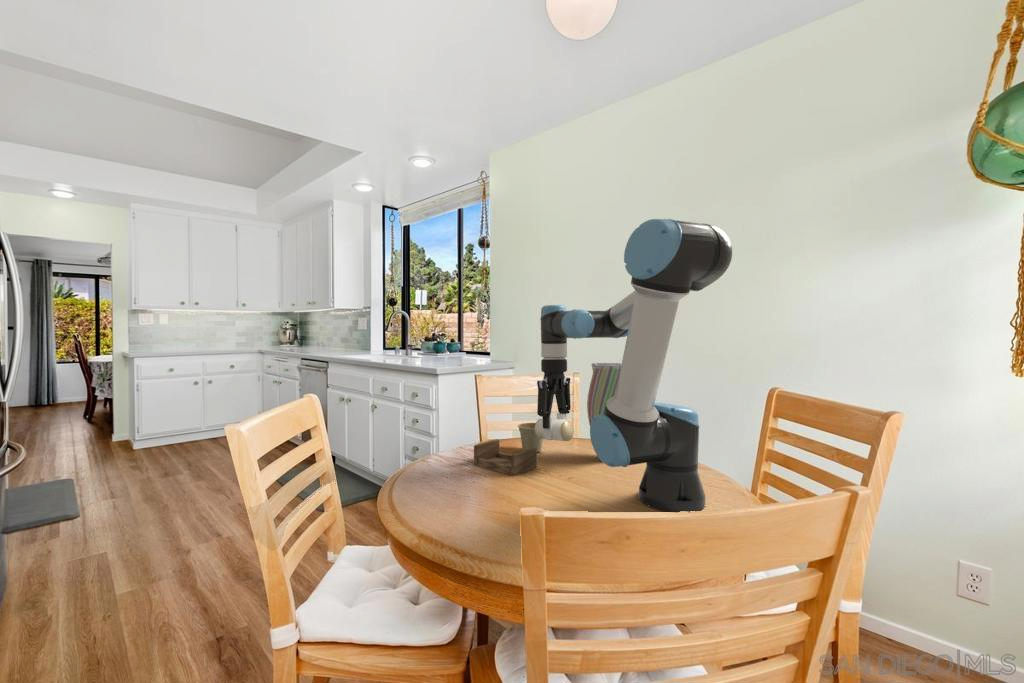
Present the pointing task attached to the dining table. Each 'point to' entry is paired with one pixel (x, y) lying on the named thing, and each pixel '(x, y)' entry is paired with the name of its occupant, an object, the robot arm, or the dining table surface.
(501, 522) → the dining table surface
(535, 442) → the flower pot
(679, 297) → the robot arm
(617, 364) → the vase
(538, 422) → the roll
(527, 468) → the cradle
